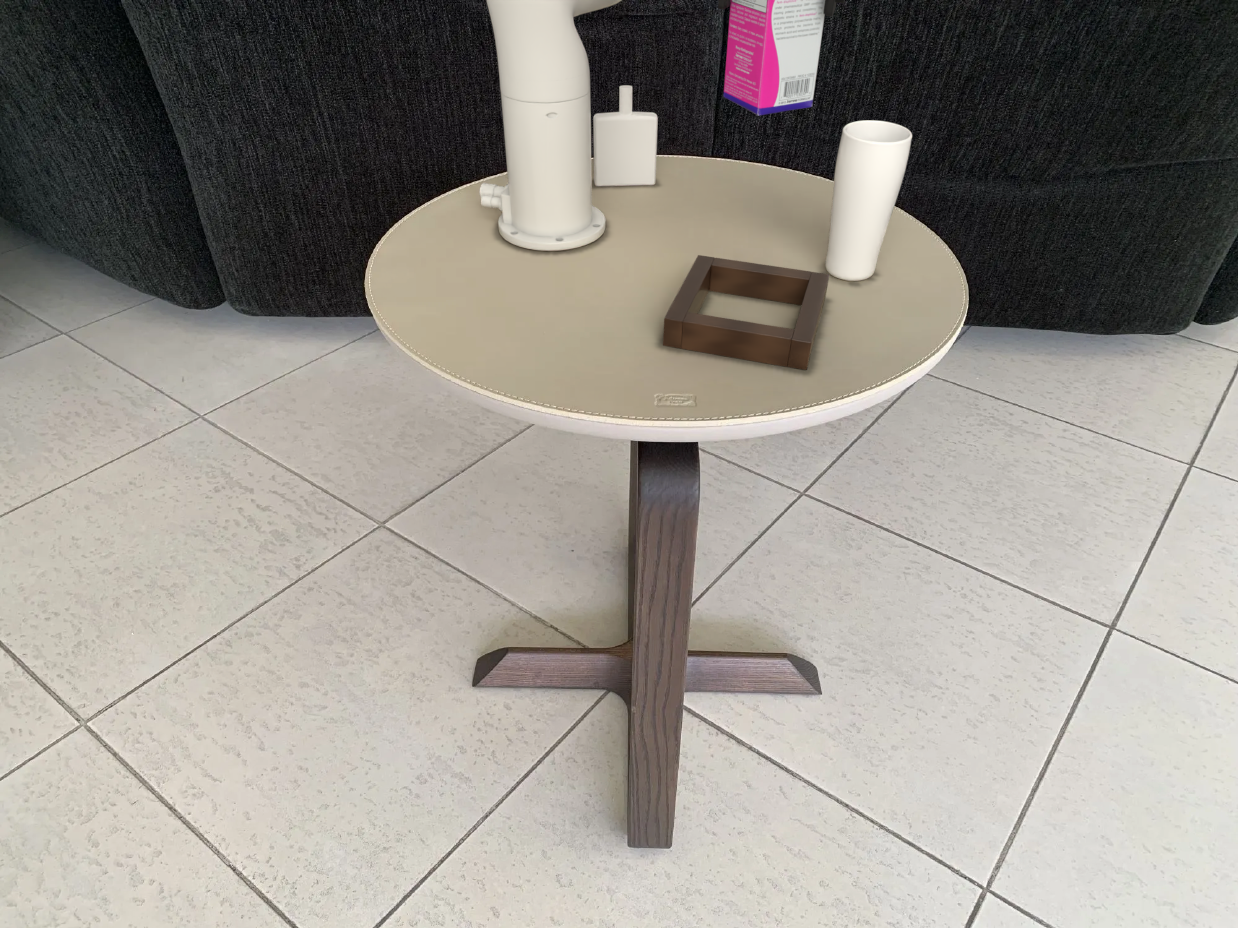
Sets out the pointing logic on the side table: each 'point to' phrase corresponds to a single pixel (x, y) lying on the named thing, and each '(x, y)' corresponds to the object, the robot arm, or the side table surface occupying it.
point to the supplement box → (773, 54)
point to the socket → (742, 336)
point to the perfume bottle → (625, 145)
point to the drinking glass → (864, 195)
